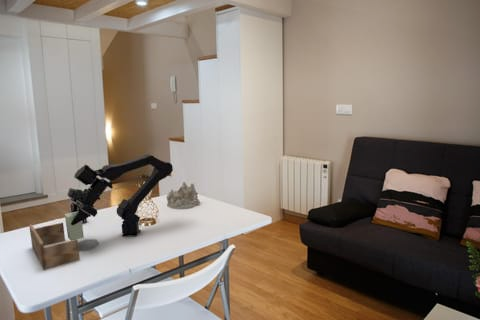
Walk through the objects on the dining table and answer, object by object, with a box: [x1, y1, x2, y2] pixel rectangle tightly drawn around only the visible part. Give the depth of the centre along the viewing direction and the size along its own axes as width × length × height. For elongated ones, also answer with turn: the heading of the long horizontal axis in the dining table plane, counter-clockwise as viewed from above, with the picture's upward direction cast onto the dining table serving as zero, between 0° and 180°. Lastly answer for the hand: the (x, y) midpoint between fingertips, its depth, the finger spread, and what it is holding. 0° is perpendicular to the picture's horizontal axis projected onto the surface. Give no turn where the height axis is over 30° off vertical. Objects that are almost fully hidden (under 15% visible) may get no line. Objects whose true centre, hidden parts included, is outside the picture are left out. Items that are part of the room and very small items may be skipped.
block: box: [64, 211, 85, 241], centre depth 150 cm, size 5×5×10 cm
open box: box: [28, 222, 81, 270], centre depth 146 cm, size 12×25×10 cm, turn 37°
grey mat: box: [78, 239, 100, 251], centre depth 154 cm, size 10×10×1 cm
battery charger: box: [69, 201, 88, 225], centre depth 179 cm, size 7×4×11 cm, turn 126°
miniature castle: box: [166, 181, 201, 210], centre depth 205 cm, size 16×16×15 cm
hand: (70, 223), depth 149 cm, fingers closed on block, 5 cm apart
